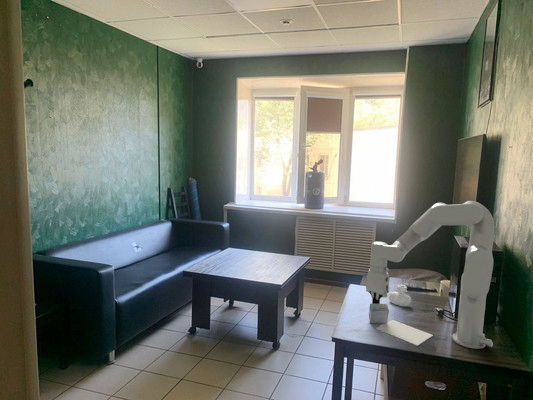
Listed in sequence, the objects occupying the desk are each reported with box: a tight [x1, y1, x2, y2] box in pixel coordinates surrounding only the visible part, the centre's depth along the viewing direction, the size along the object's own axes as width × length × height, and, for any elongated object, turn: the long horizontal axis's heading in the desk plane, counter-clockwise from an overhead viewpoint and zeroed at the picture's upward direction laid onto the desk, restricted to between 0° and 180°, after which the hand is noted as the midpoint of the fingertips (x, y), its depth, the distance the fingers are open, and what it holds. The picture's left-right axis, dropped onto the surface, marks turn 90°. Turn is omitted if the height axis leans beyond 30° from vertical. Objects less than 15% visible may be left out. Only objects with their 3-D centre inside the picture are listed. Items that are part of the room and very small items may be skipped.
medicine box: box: [368, 303, 390, 324], centre depth 174 cm, size 8×4×9 cm, turn 85°
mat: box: [375, 319, 434, 347], centre depth 167 cm, size 20×14×1 cm
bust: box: [388, 284, 412, 307], centre depth 200 cm, size 12×8×11 cm
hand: (375, 306), depth 177 cm, fingers closed
